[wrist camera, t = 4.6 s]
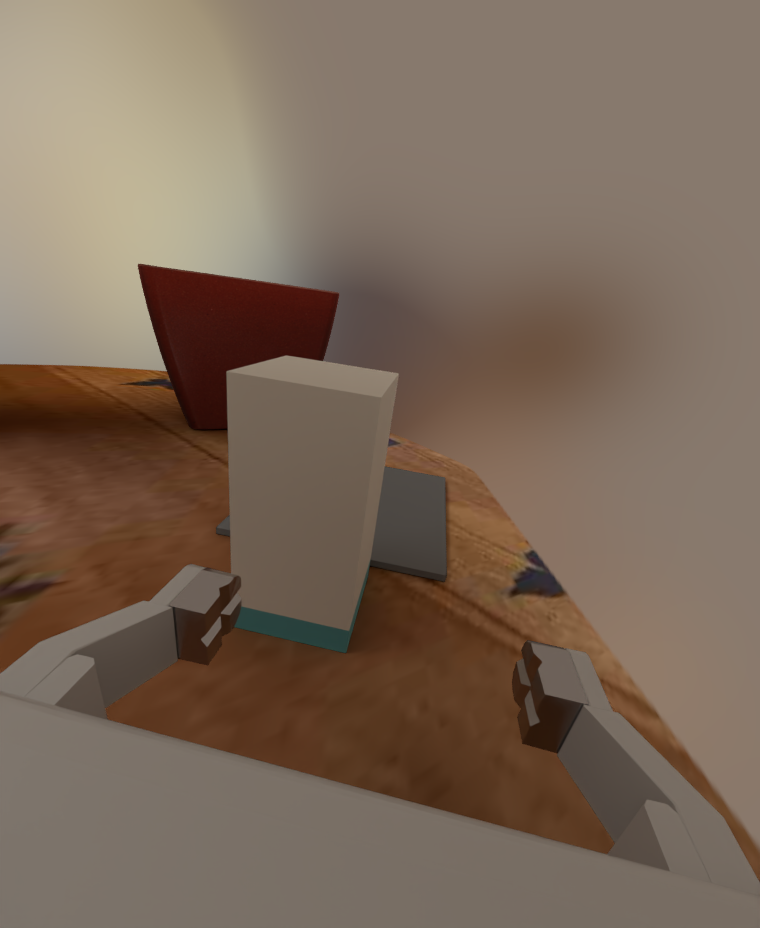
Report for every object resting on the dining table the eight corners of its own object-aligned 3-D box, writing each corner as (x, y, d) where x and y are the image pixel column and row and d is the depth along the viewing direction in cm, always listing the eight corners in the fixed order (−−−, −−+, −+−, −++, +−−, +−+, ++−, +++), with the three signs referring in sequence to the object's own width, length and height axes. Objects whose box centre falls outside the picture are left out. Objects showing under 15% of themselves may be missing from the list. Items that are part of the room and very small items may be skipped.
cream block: (232, 626, 19) (226, 371, 14) (279, 557, 25) (286, 355, 20) (346, 653, 19) (381, 397, 14) (367, 576, 24) (398, 373, 19)
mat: (445, 581, 25) (446, 575, 25) (216, 533, 26) (216, 527, 26) (444, 481, 39) (445, 477, 39) (297, 454, 41) (298, 450, 41)
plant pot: (154, 442, 39) (135, 259, 32) (159, 395, 54) (147, 264, 48) (330, 437, 48) (342, 292, 41) (291, 397, 63) (296, 287, 56)
